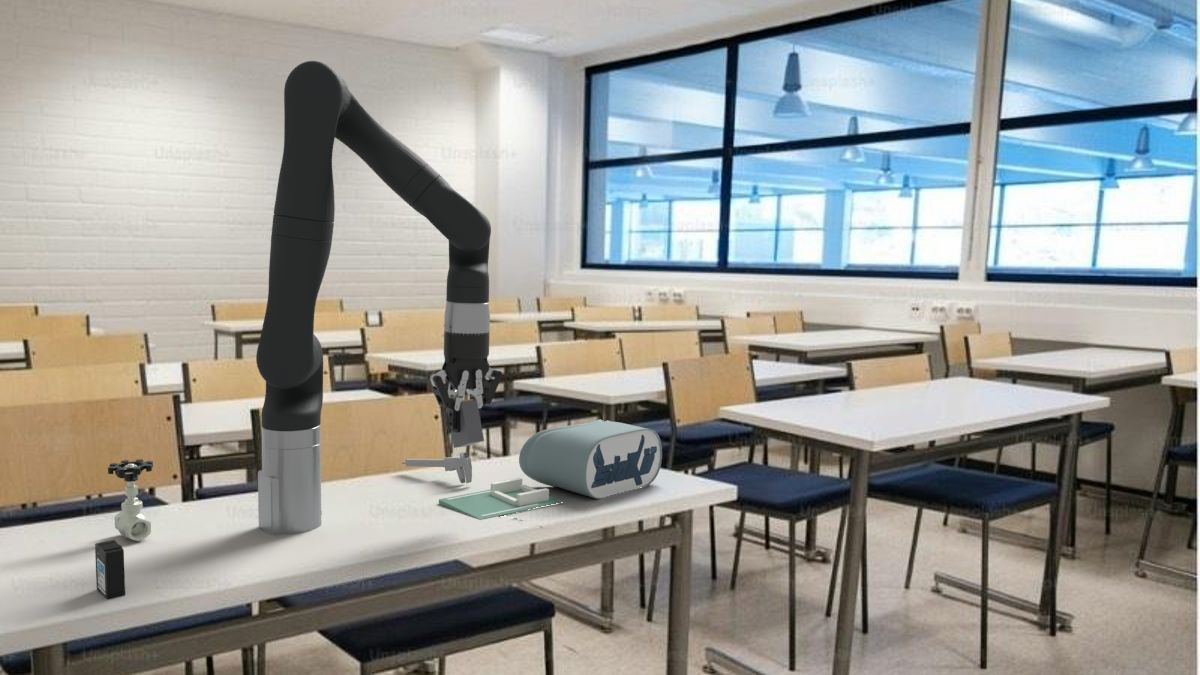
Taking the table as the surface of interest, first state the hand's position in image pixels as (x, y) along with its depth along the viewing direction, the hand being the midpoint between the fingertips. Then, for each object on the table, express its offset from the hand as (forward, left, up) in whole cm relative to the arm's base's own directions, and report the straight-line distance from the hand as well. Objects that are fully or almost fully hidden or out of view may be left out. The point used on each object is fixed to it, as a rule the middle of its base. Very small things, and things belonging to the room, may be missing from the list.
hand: (464, 430), depth 154 cm
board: (+11, +5, -17) cm, 21 cm away
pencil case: (+33, +6, -17) cm, 37 cm away
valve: (-46, +25, -17) cm, 55 cm away
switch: (0, -1, -2) cm, 3 cm away
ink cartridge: (-54, 0, -17) cm, 57 cm away
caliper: (+11, +30, -18) cm, 36 cm away
